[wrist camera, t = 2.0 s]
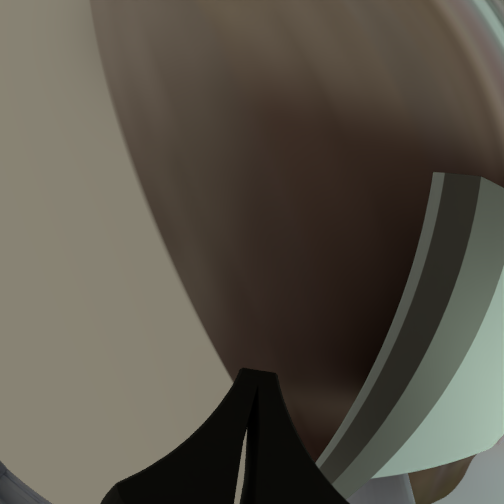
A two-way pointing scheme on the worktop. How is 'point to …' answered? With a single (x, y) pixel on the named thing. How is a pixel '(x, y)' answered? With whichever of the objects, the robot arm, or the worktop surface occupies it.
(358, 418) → the lid
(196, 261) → the worktop surface
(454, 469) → the worktop surface
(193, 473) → the robot arm
